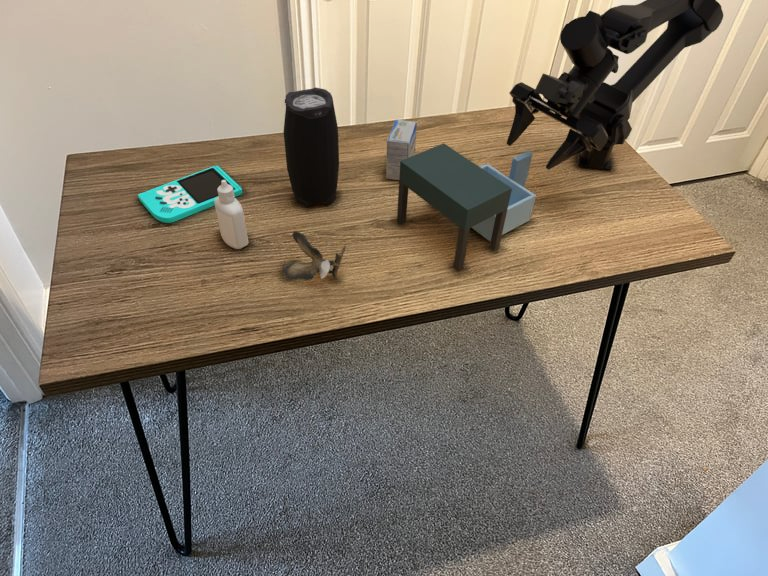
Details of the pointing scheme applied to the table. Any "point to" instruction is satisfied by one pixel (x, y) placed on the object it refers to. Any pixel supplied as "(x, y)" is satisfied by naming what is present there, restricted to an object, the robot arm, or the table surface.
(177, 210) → the handheld game console
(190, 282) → the table surface
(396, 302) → the table surface
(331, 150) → the portable speaker
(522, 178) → the drawer
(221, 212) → the eye dropper bottle
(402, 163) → the cabinet
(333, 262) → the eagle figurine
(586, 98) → the robot arm
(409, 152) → the medicine box
